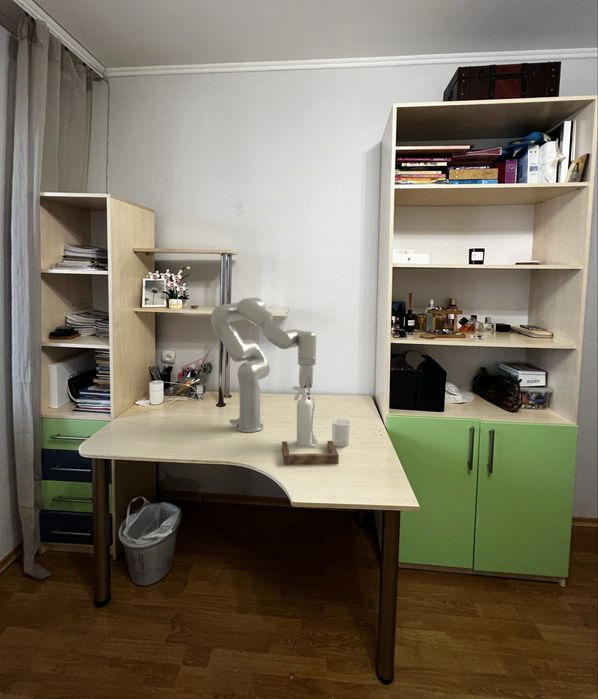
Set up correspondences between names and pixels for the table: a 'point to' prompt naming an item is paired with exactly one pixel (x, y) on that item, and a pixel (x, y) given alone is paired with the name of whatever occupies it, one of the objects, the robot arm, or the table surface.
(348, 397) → the table surface
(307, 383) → the robot arm
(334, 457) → the u rest
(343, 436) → the white cup
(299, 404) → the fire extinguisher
